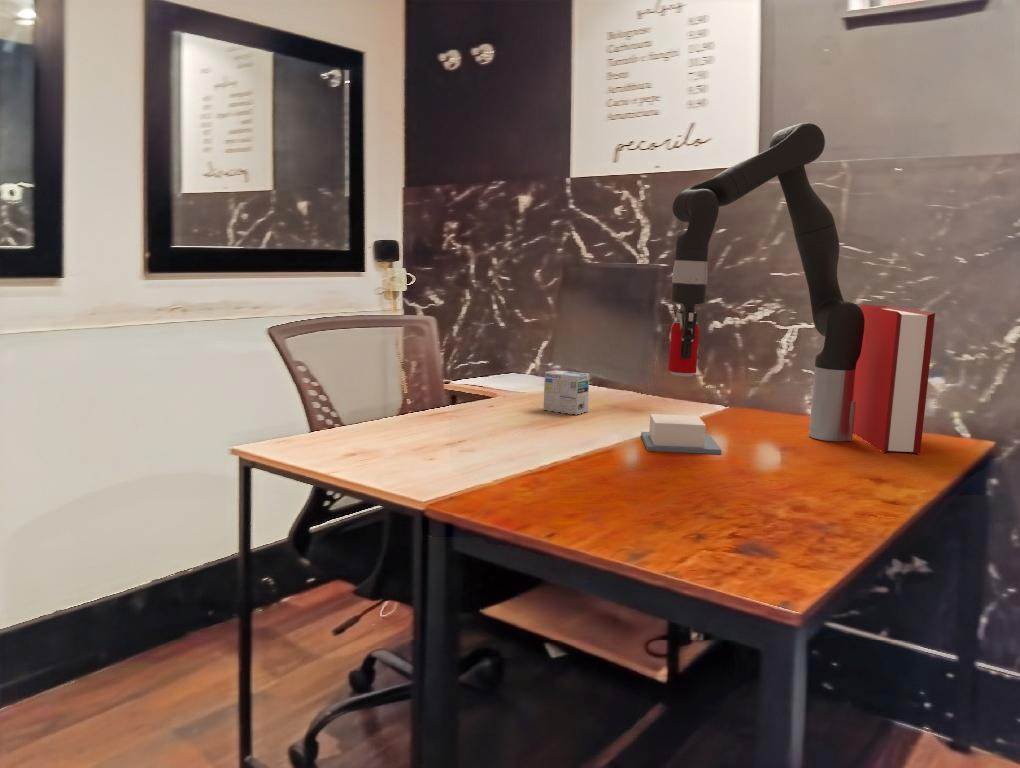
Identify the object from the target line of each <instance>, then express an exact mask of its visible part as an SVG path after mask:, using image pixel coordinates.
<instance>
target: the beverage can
mask: <svg viewBox="0 0 1020 768" xmlns="http://www.w3.org/2000/svg"><path fill="white" fill-rule="evenodd" d="M698 323H699V322H698V321H696V330H695V339H694V340H693V342H692V350H691V358H690V359H683V358H681V356H680V355H681V342H682V341H681V335H682V332H681V331H680V330H679V329H680V322H677V320H674V321H673V323H672V326H671V328H670V329H671V330H670V342H669V353H668V354H669V355H668V368H667V372H669V373H670V374H671V375H673V376H677V377H692V376H694V375H695V374H696V373H697V367H698V357H699V355H698V354H699V343H700V342H699V341H700V327H699V324H698ZM682 325H683V327H684V324H683V322H682ZM686 334H691V332H690V331H686Z"/></svg>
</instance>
